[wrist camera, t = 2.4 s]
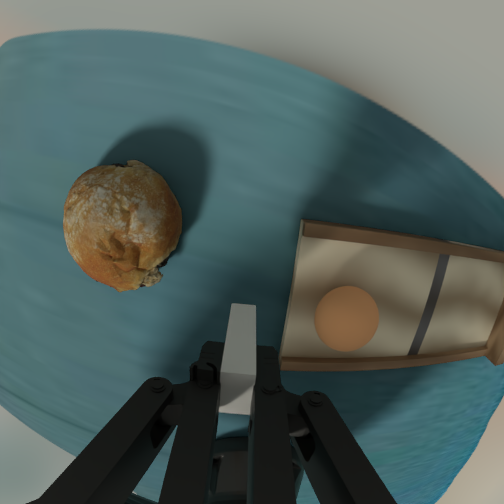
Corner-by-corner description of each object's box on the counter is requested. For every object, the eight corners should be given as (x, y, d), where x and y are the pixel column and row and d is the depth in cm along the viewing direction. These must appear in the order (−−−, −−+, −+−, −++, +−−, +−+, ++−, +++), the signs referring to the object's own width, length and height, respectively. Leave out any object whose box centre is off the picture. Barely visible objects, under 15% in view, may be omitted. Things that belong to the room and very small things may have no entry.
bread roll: (191, 175, 24) (165, 126, 17) (192, 291, 23) (158, 286, 15) (98, 189, 25) (52, 154, 17) (92, 293, 23) (35, 287, 15)
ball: (357, 330, 23) (377, 363, 18) (304, 329, 23) (315, 364, 18) (371, 278, 22) (398, 304, 17) (314, 273, 22) (330, 301, 17)
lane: (485, 346, 26) (503, 363, 22) (278, 357, 25) (282, 388, 21) (516, 254, 22) (539, 264, 18) (301, 218, 22) (313, 229, 17)
